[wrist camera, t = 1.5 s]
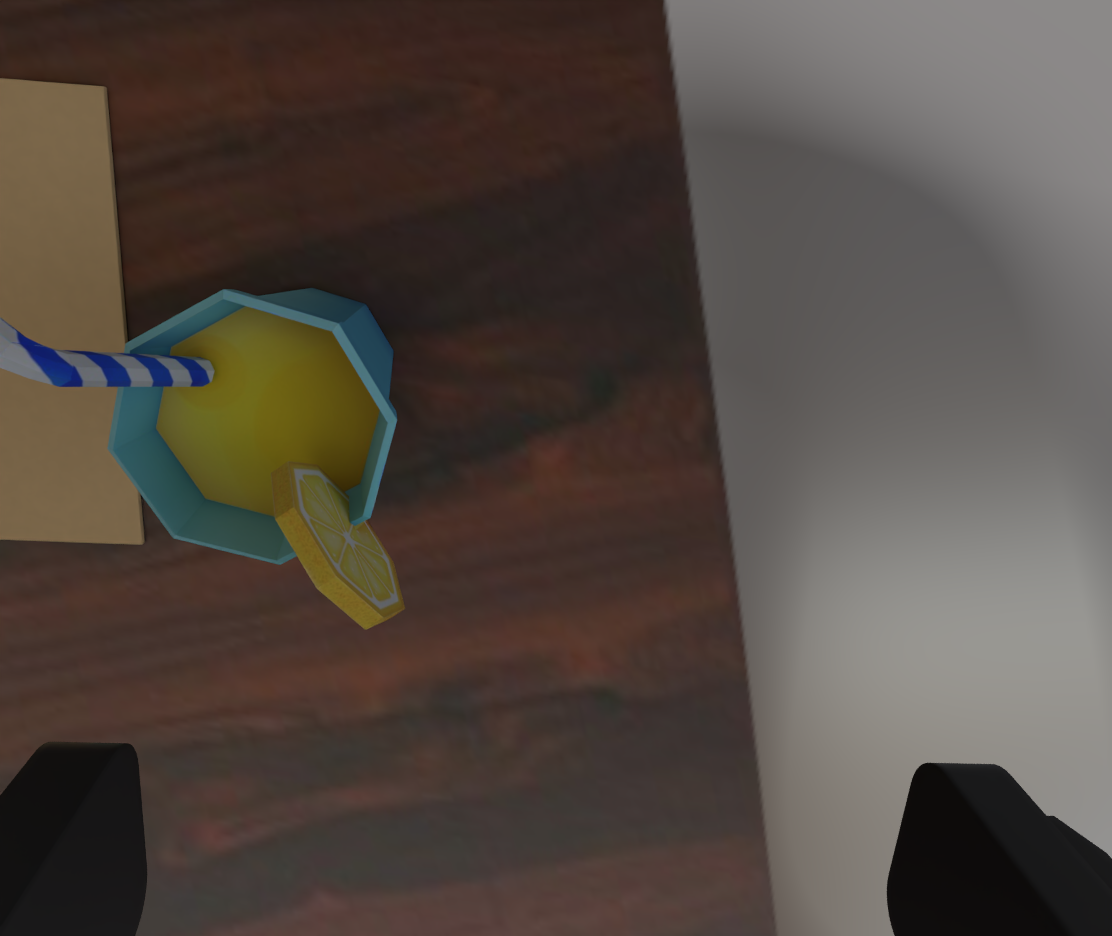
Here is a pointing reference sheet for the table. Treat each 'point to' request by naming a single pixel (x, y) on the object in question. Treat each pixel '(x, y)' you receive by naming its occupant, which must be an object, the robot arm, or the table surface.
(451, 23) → the table surface
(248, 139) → the table surface
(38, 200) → the cork mat
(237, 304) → the cup
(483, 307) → the table surface
